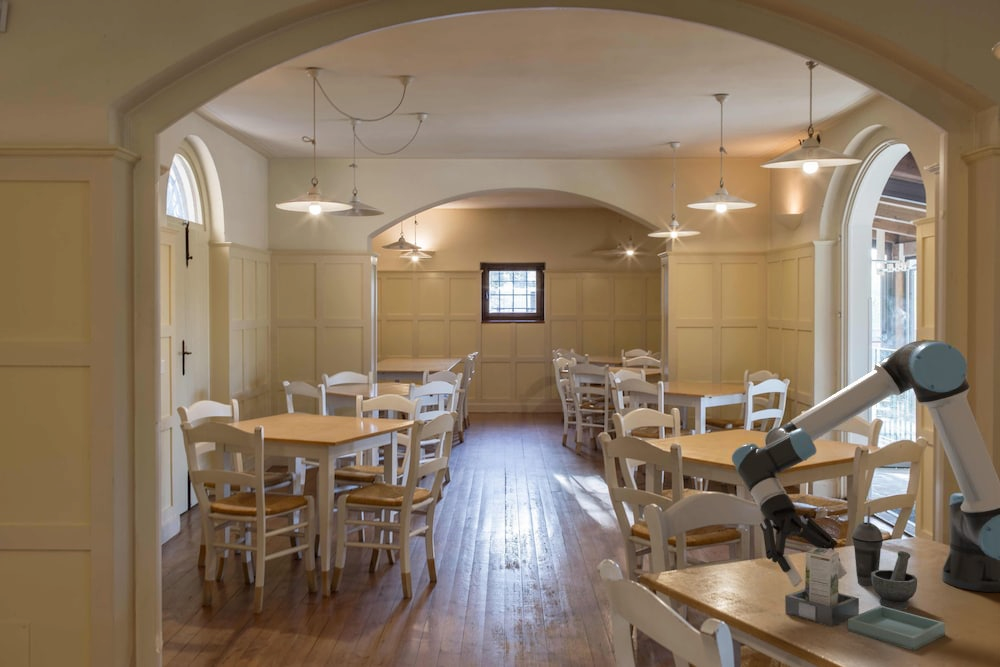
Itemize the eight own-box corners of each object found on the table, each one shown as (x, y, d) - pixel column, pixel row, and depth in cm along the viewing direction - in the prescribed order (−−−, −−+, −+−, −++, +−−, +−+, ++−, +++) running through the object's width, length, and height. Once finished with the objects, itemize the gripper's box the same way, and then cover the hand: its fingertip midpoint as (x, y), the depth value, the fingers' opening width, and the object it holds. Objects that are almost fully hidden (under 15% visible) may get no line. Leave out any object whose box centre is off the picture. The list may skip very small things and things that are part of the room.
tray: (880, 616, 185) (880, 605, 185) (945, 634, 174) (945, 622, 174) (847, 630, 176) (848, 619, 176) (913, 650, 165) (913, 638, 165)
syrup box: (812, 608, 190) (812, 546, 190) (839, 613, 187) (839, 550, 187) (804, 615, 186) (804, 551, 186) (831, 620, 182) (831, 555, 182)
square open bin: (813, 602, 195) (813, 585, 195) (859, 615, 186) (859, 597, 186) (784, 613, 187) (784, 595, 187) (830, 627, 178) (830, 609, 178)
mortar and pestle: (903, 614, 186) (903, 562, 186) (863, 604, 193) (864, 553, 193) (926, 604, 193) (926, 553, 193) (887, 594, 200) (887, 545, 200)
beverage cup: (877, 579, 212) (877, 502, 212) (887, 588, 205) (887, 509, 205) (848, 579, 213) (848, 502, 213) (857, 587, 206) (857, 508, 206)
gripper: (803, 505, 207) (851, 581, 194) (725, 514, 197) (770, 595, 183) (819, 488, 202) (869, 564, 189) (740, 496, 192) (787, 578, 178)
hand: (820, 580), depth 186 cm, fingers open, 13 cm apart
